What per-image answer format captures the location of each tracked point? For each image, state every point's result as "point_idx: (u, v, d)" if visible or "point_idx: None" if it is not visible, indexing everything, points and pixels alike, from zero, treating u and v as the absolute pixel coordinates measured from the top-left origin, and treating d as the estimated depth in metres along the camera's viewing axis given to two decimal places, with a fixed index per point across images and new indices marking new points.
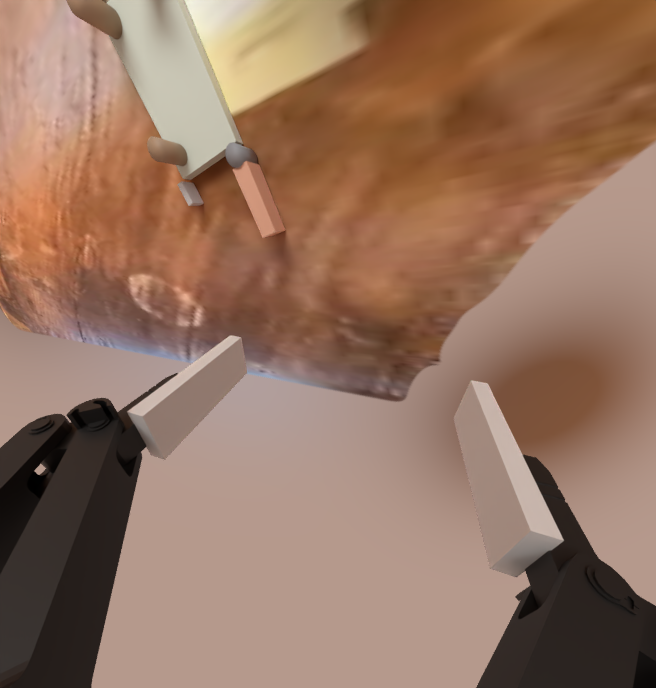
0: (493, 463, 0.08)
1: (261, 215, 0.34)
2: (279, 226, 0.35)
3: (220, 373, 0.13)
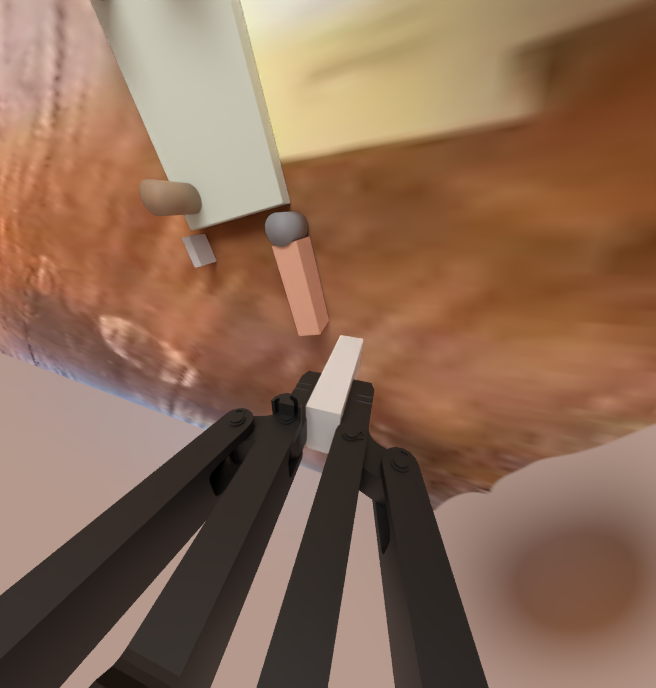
0: None
1: (303, 311, 0.23)
2: (323, 321, 0.25)
3: None
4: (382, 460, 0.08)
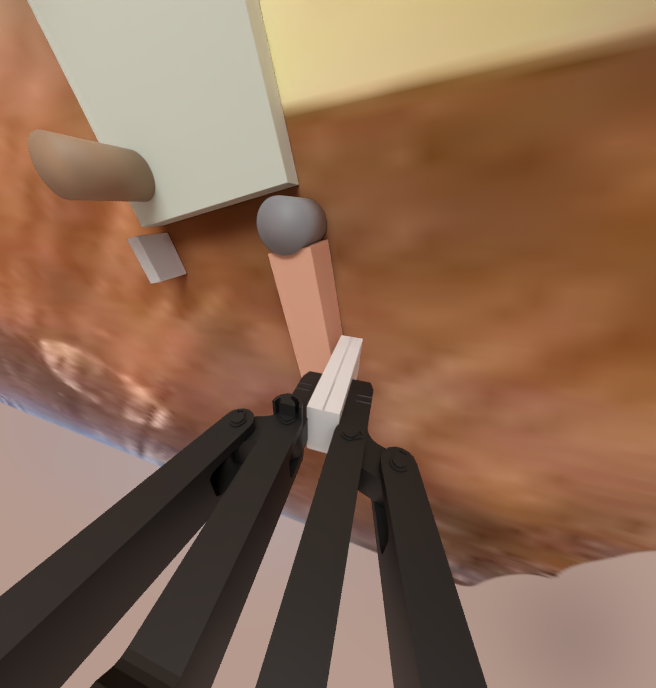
0: None
1: (314, 355, 0.15)
2: None
3: None
4: (381, 460, 0.08)
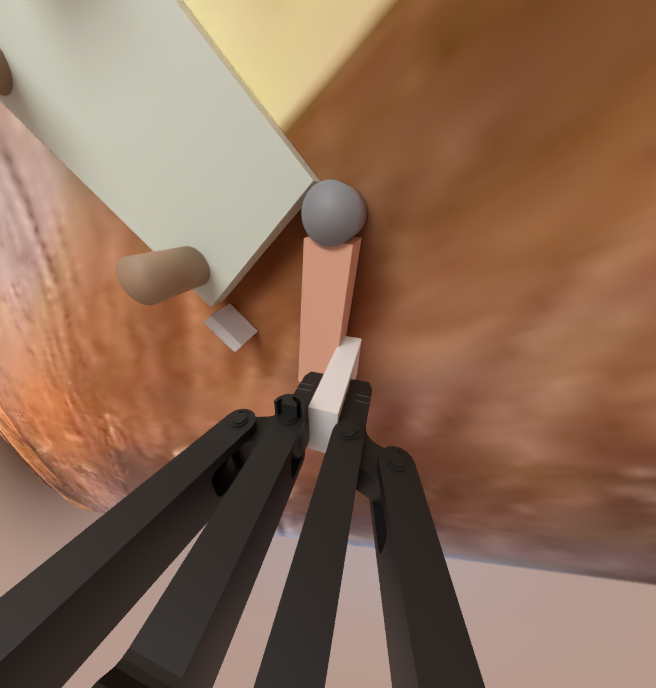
0: None
1: (319, 352, 0.14)
2: None
3: None
4: (379, 459, 0.08)
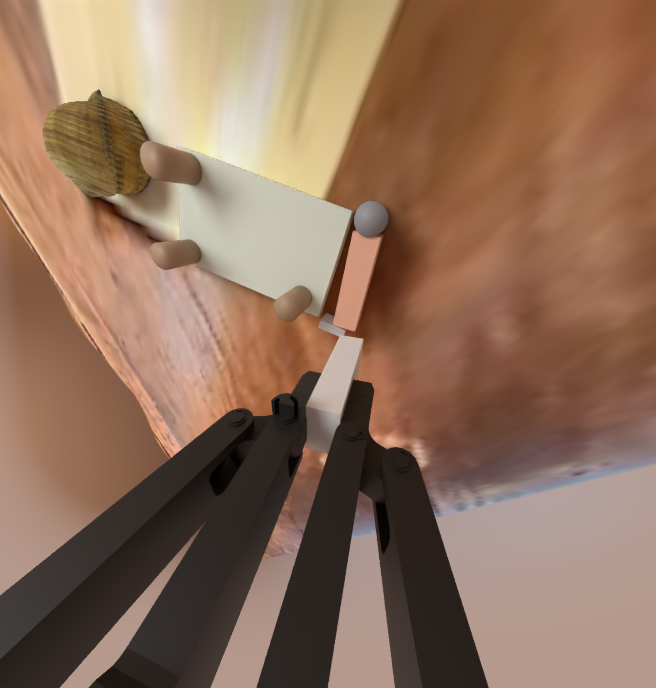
0: None
1: (350, 304, 0.23)
2: (359, 319, 0.25)
3: None
4: (382, 460, 0.08)
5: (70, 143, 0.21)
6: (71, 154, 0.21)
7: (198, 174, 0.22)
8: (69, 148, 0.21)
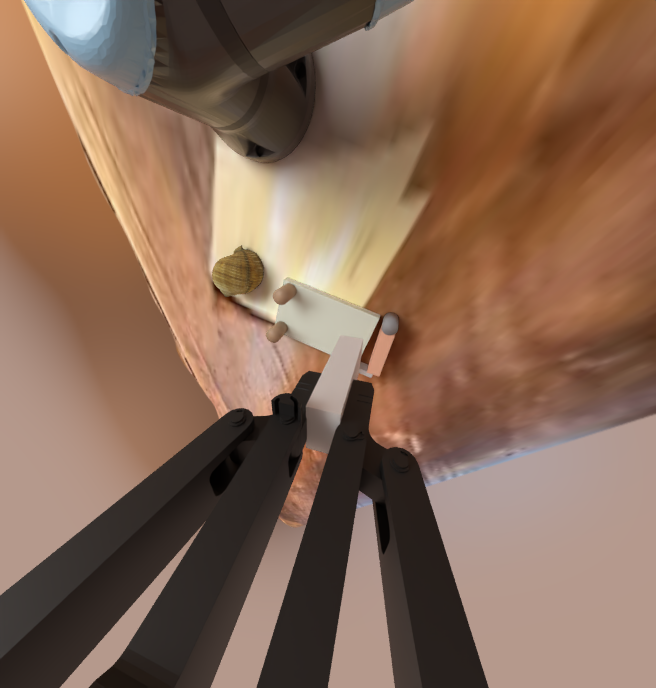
0: None
1: (377, 363, 0.42)
2: None
3: None
4: (382, 460, 0.08)
5: (231, 279, 0.40)
6: (229, 283, 0.40)
7: (295, 294, 0.42)
8: (230, 281, 0.40)
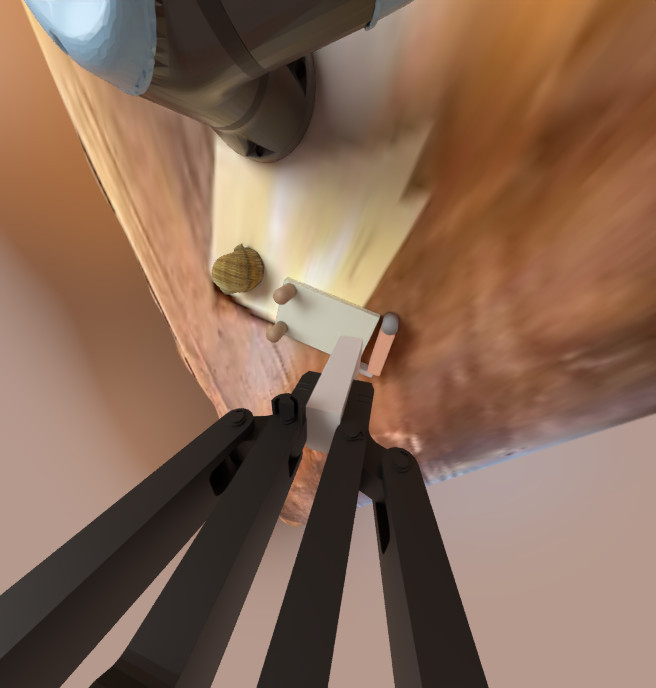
0: None
1: (377, 363, 0.42)
2: None
3: None
4: (382, 460, 0.08)
5: (231, 277, 0.40)
6: (229, 281, 0.40)
7: (295, 294, 0.42)
8: (230, 279, 0.40)
